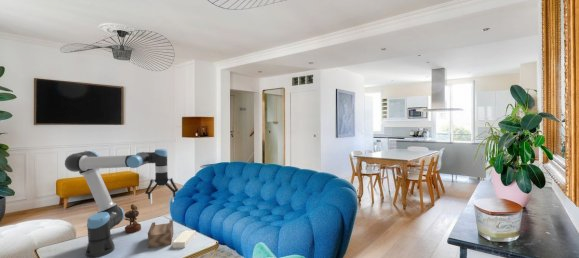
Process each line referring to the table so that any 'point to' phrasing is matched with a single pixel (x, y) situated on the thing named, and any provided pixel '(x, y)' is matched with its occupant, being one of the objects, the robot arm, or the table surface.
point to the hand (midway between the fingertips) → (162, 202)
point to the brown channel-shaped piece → (160, 234)
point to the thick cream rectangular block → (184, 239)
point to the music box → (132, 220)
